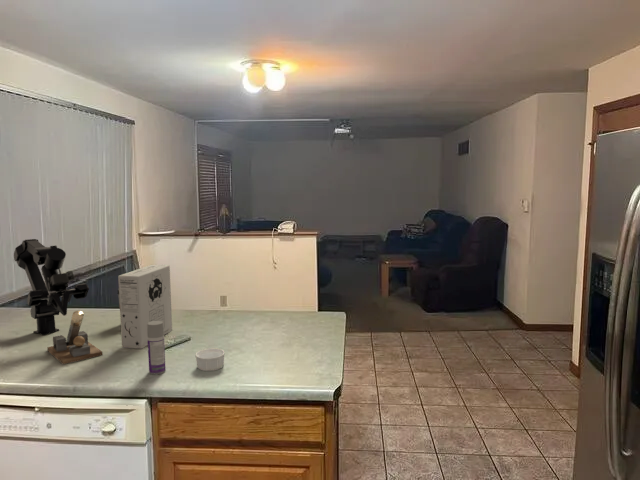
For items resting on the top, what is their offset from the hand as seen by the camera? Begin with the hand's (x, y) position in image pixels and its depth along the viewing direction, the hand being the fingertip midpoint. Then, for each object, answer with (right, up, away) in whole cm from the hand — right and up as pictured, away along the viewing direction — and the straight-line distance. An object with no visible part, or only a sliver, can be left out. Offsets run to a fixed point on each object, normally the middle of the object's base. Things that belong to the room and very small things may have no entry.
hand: (65, 314), depth 175 cm
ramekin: (+53, -14, -17) cm, 57 cm away
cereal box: (+25, -10, +10) cm, 29 cm away
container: (+38, -14, -21) cm, 46 cm away
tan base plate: (+5, -12, -4) cm, 14 cm away
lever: (+3, -9, -2) cm, 10 cm away
